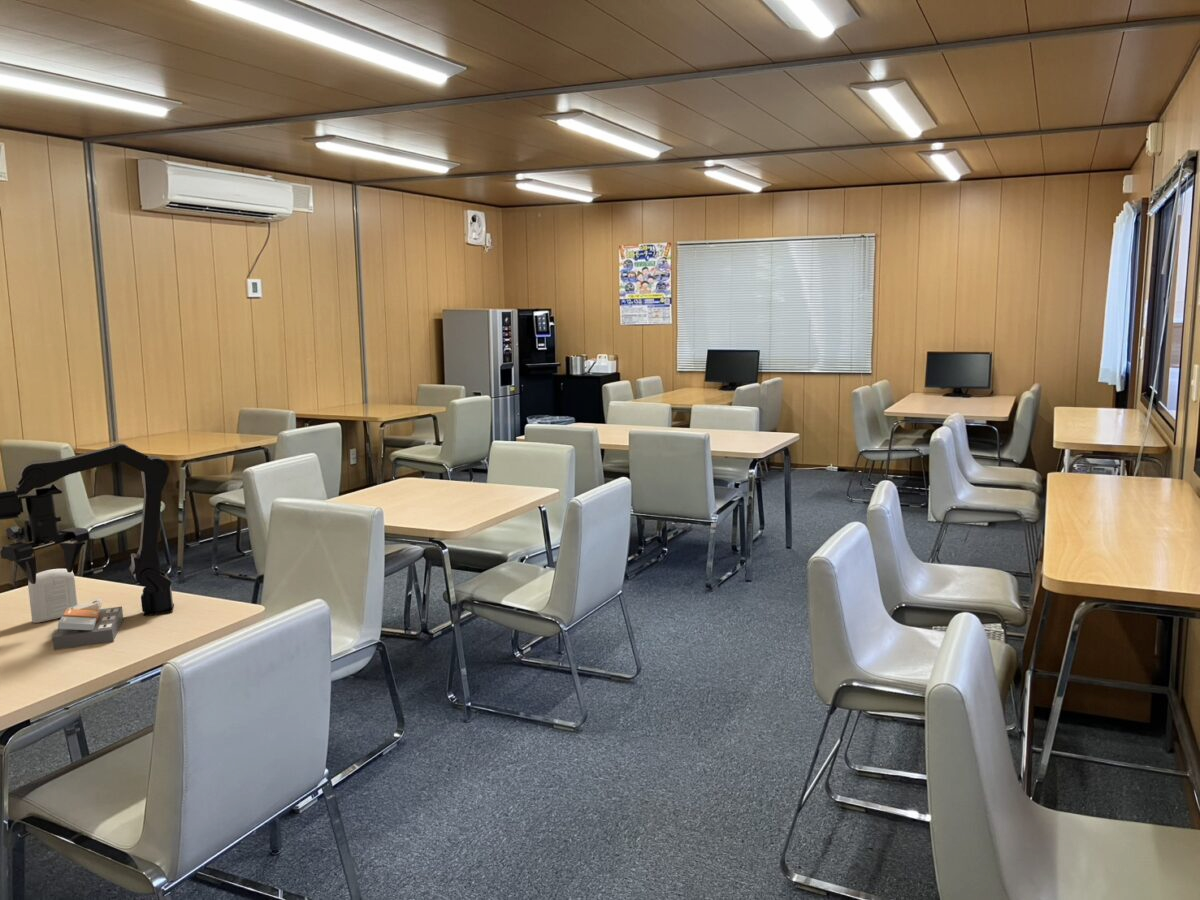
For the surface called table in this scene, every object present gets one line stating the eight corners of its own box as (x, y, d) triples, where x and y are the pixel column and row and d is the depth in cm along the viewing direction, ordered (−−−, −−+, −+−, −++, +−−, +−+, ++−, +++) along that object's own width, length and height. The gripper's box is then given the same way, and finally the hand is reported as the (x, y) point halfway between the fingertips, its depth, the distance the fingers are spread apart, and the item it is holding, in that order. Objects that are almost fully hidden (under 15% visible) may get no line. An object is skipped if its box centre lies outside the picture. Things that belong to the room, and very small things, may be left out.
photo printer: (76, 610, 231) (70, 564, 229) (81, 614, 228) (75, 567, 226) (30, 621, 224) (24, 573, 222) (34, 625, 221) (28, 576, 219)
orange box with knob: (99, 616, 216) (100, 610, 216) (96, 622, 212) (97, 616, 212) (66, 614, 213) (66, 608, 213) (62, 620, 209) (63, 614, 209)
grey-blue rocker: (95, 624, 211) (96, 618, 211) (92, 630, 206) (93, 624, 206) (61, 622, 208) (62, 616, 208) (57, 628, 204) (58, 622, 204)
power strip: (123, 617, 224) (121, 604, 224) (113, 641, 208) (111, 626, 207) (68, 625, 220) (66, 611, 219) (53, 650, 203) (52, 634, 203)
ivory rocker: (102, 603, 221) (100, 597, 221) (99, 608, 217) (97, 603, 217) (71, 612, 219) (69, 607, 219) (67, 618, 215) (65, 613, 215)
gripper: (55, 503, 224) (64, 564, 227) (-21, 522, 207) (-10, 587, 210) (86, 505, 220) (95, 567, 222) (12, 524, 203) (22, 591, 205)
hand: (51, 577), depth 215 cm, fingers open, 9 cm apart
